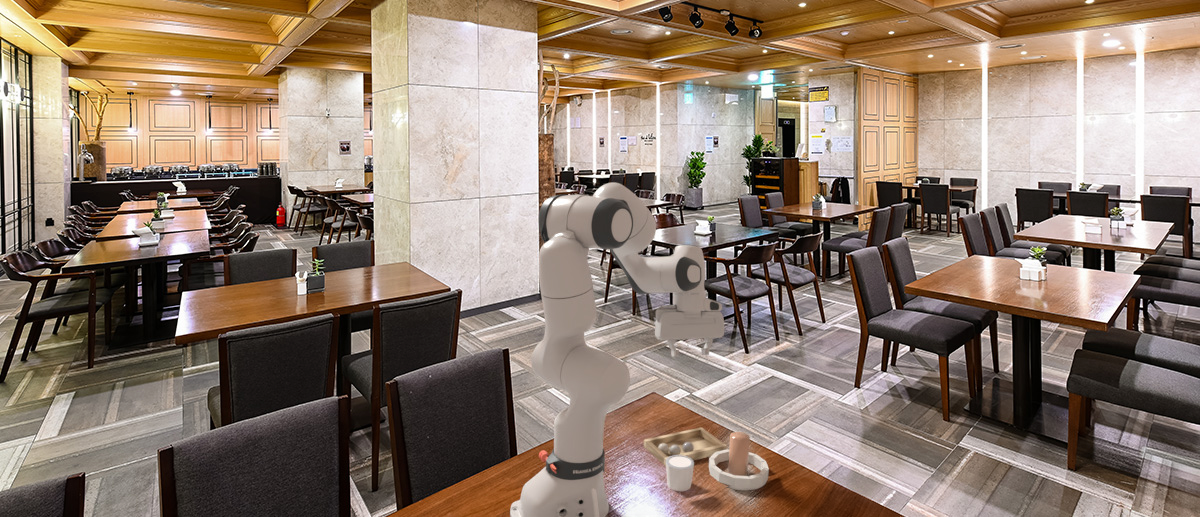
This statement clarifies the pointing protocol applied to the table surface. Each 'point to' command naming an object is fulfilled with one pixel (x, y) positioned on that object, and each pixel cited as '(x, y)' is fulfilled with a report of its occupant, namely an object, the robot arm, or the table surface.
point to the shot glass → (679, 472)
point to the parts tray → (698, 437)
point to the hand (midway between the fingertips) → (690, 355)
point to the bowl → (739, 481)
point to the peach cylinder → (738, 454)
